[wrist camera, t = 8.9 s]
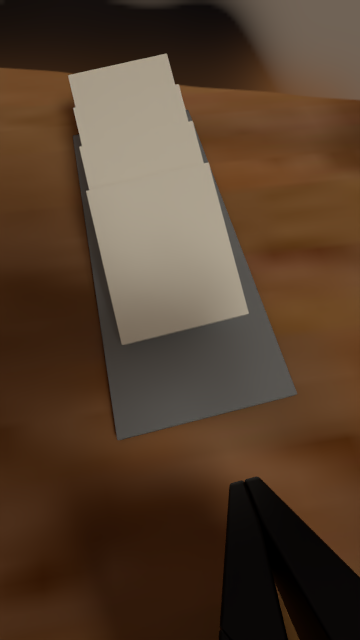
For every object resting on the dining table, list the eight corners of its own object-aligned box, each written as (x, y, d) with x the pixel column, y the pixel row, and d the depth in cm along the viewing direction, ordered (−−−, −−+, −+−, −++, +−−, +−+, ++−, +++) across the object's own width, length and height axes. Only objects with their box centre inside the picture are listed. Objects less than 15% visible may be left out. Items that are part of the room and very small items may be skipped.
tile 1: (248, 313, 23) (208, 162, 24) (121, 344, 23) (85, 190, 24) (244, 315, 25) (206, 173, 26) (125, 345, 24) (91, 200, 25)
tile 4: (197, 170, 29) (166, 53, 30) (95, 194, 29) (68, 75, 30) (196, 179, 31) (167, 68, 32) (100, 202, 30) (73, 89, 31)
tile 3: (211, 210, 27) (178, 84, 28) (103, 236, 27) (73, 107, 28) (210, 218, 29) (178, 98, 30) (107, 242, 28) (78, 120, 29)
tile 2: (229, 258, 25) (192, 120, 26) (111, 286, 25) (79, 146, 26) (225, 263, 27) (191, 133, 28) (115, 290, 26) (84, 158, 27)
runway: (294, 395, 23) (297, 393, 22) (119, 440, 22) (117, 439, 22) (188, 114, 35) (187, 109, 35) (74, 140, 35) (72, 135, 34)
